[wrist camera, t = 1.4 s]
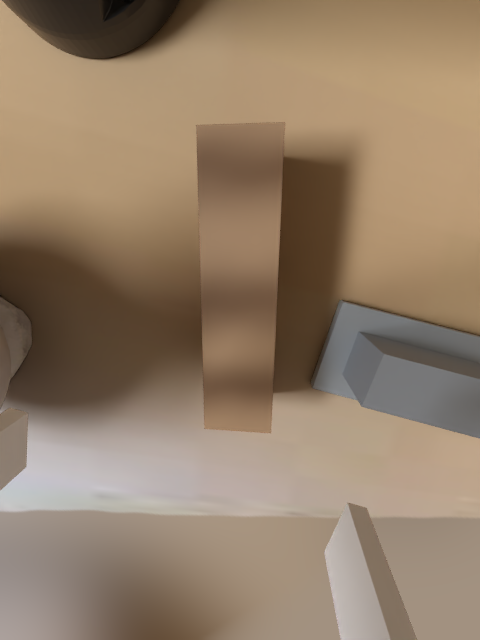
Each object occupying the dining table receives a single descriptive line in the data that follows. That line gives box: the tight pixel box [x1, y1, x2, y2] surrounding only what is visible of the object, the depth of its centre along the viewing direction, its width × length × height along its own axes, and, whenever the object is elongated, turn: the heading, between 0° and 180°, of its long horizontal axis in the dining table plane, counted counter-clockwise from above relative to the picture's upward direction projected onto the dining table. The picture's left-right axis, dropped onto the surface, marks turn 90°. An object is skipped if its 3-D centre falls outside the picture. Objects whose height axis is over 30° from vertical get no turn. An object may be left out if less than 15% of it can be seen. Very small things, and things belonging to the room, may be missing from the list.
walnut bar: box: [196, 122, 285, 433], centre depth 21 cm, size 20×5×6 cm, turn 179°
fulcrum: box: [311, 300, 480, 438], centre depth 21 cm, size 8×14×6 cm, turn 76°
